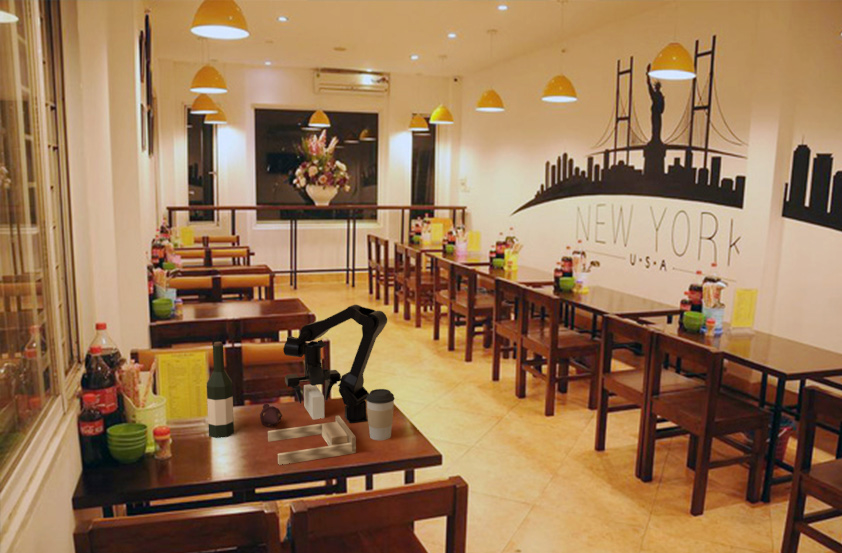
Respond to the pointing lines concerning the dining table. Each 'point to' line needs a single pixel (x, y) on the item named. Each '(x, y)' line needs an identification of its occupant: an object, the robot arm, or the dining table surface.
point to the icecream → (270, 415)
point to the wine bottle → (220, 397)
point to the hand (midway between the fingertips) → (313, 401)
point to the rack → (314, 452)
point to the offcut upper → (334, 433)
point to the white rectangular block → (314, 401)
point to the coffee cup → (380, 413)
